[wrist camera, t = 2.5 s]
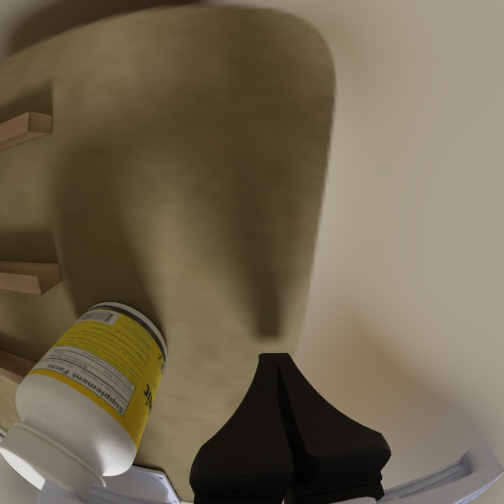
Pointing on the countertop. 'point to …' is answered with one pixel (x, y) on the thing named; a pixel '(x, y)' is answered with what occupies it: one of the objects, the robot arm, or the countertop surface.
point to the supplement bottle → (87, 400)
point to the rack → (24, 273)
